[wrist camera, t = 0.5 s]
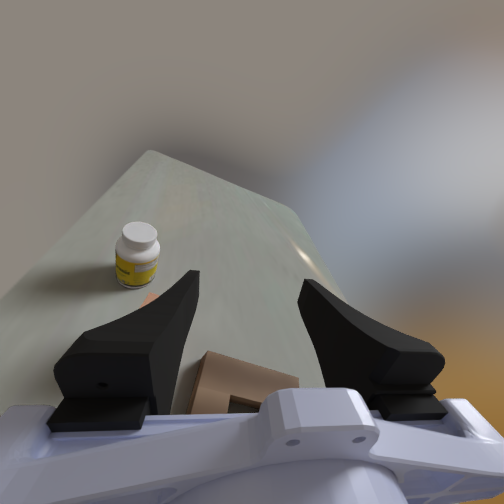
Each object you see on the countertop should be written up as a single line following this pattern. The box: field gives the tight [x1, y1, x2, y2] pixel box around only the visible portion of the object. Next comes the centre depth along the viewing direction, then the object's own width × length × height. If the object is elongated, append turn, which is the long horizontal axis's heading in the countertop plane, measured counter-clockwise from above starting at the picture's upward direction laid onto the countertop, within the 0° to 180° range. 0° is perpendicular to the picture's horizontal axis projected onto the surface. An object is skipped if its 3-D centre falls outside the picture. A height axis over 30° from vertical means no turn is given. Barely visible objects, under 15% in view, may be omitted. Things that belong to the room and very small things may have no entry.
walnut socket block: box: [186, 351, 299, 415], centre depth 22 cm, size 14×14×3 cm
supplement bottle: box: [115, 222, 160, 289], centre depth 28 cm, size 5×5×10 cm
